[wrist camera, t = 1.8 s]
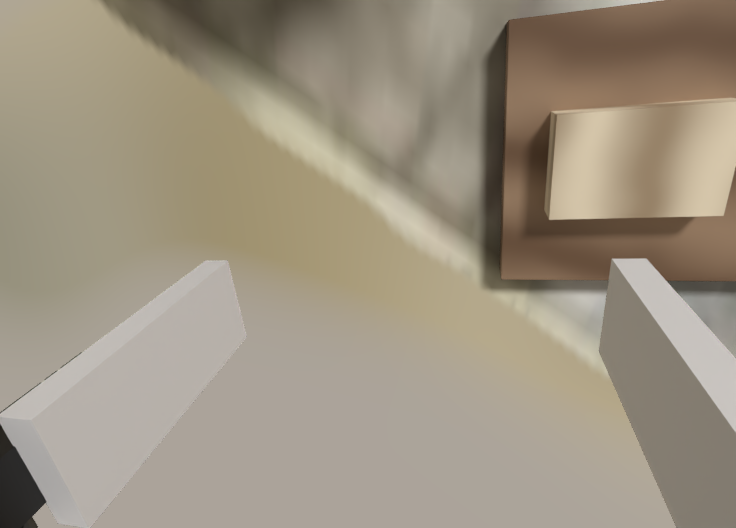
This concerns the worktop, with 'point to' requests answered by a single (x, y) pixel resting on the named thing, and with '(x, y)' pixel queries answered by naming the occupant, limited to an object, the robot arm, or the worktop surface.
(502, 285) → the worktop surface
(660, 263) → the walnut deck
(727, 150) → the birch tile
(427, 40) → the worktop surface
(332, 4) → the worktop surface
